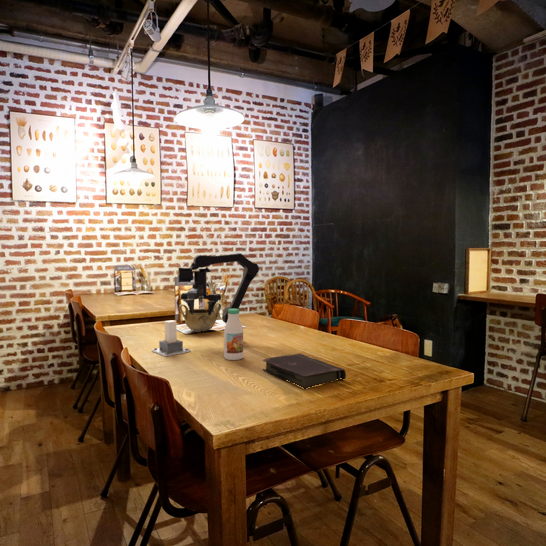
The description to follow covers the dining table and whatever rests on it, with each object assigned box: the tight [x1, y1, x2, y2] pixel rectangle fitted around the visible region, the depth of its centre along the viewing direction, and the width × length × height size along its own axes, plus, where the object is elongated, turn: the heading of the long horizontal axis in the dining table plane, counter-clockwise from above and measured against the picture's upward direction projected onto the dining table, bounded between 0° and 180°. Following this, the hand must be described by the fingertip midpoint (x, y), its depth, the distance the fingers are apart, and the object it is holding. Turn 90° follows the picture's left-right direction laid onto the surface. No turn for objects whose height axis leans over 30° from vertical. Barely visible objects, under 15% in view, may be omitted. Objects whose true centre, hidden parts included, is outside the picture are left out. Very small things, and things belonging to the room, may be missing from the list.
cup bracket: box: [151, 339, 191, 357], centre depth 184 cm, size 12×12×4 cm
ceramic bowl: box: [178, 302, 222, 333], centre depth 228 cm, size 22×17×15 cm
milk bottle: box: [223, 309, 244, 361], centre depth 173 cm, size 8×8×20 cm
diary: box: [262, 353, 347, 390], centre depth 150 cm, size 19×25×5 cm
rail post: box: [164, 319, 178, 343], centre depth 184 cm, size 4×4×12 cm
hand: (200, 314), depth 201 cm, fingers open, 9 cm apart
